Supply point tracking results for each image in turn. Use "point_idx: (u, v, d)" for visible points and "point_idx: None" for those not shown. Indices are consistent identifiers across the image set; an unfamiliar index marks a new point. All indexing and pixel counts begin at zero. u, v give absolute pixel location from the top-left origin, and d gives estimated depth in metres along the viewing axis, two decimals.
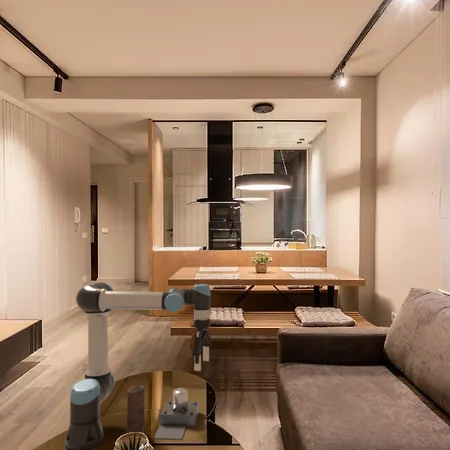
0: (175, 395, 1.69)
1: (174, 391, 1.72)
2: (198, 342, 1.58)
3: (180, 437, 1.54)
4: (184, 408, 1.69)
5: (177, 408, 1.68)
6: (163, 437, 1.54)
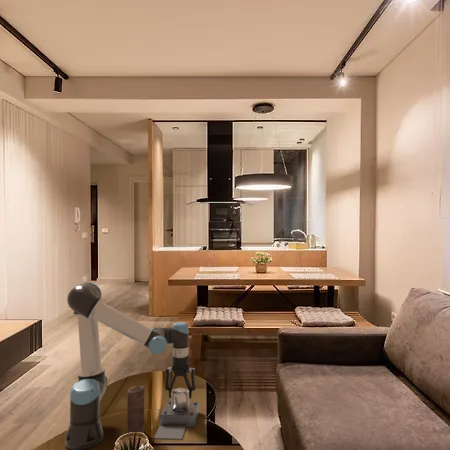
0: (175, 395, 1.69)
1: (174, 391, 1.72)
2: None
3: (180, 437, 1.54)
4: (184, 408, 1.69)
5: (177, 408, 1.68)
6: (163, 437, 1.54)
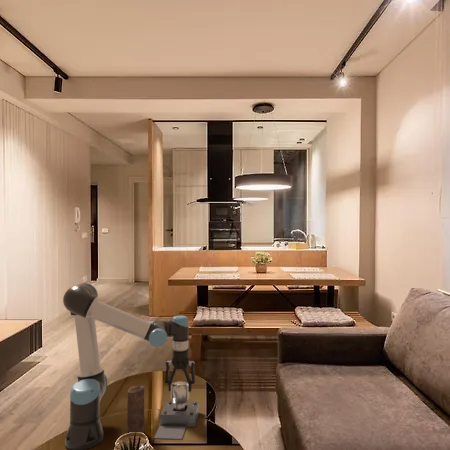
0: (175, 388, 1.69)
1: (174, 384, 1.72)
2: None
3: (180, 437, 1.54)
4: (184, 401, 1.69)
5: (176, 401, 1.69)
6: (163, 437, 1.54)
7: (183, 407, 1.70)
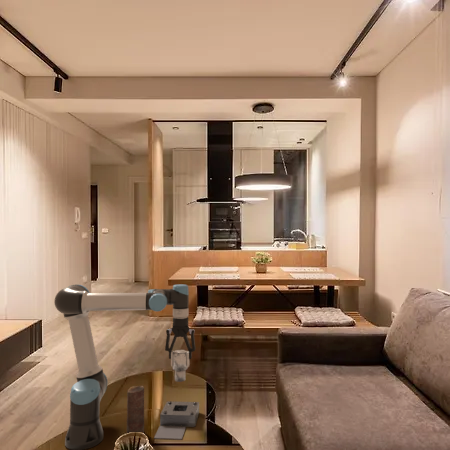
0: (175, 355, 1.70)
1: (174, 352, 1.72)
2: None
3: (180, 437, 1.54)
4: (184, 368, 1.70)
5: (177, 368, 1.69)
6: (163, 437, 1.54)
7: (184, 374, 1.71)
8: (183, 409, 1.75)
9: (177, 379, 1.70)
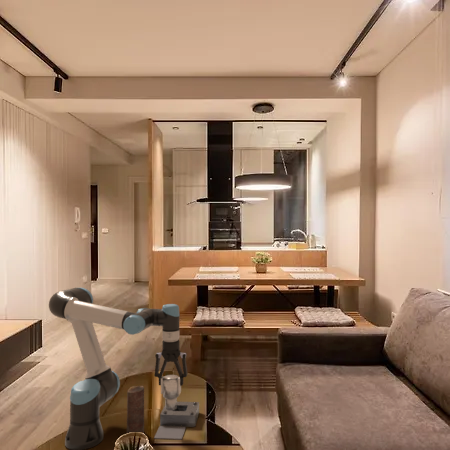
0: (165, 382, 1.57)
1: (164, 378, 1.59)
2: None
3: (180, 437, 1.54)
4: (175, 396, 1.57)
5: (167, 396, 1.56)
6: (163, 437, 1.54)
7: (175, 402, 1.58)
8: (183, 409, 1.75)
9: (168, 408, 1.57)
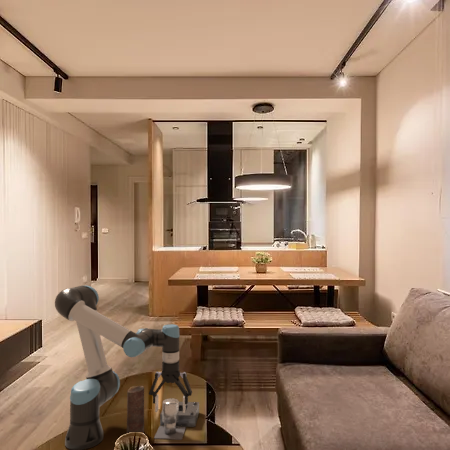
0: (165, 406, 1.56)
1: (164, 402, 1.59)
2: (153, 382, 1.60)
3: (180, 437, 1.54)
4: (174, 421, 1.56)
5: (166, 421, 1.56)
6: (163, 437, 1.54)
7: (174, 426, 1.57)
8: None
9: (167, 432, 1.56)
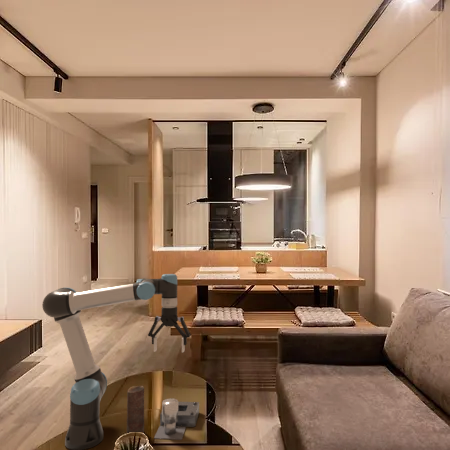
0: (164, 407, 1.56)
1: (163, 402, 1.59)
2: None
3: (180, 437, 1.54)
4: (174, 421, 1.56)
5: (166, 421, 1.56)
6: (163, 437, 1.54)
7: (174, 426, 1.57)
8: (183, 409, 1.75)
9: (167, 432, 1.56)
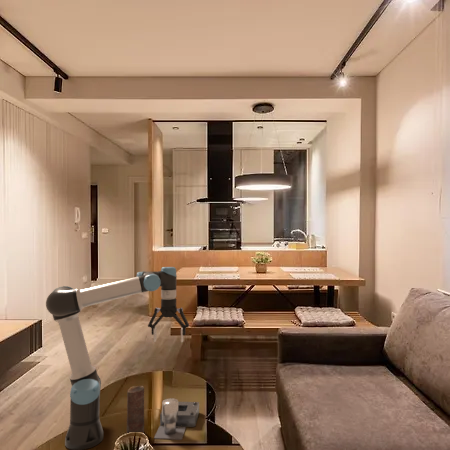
0: (164, 406, 1.57)
1: (163, 402, 1.59)
2: None
3: (180, 437, 1.54)
4: (174, 420, 1.56)
5: (166, 421, 1.56)
6: (163, 437, 1.54)
7: (174, 426, 1.57)
8: (183, 409, 1.75)
9: (167, 432, 1.56)
